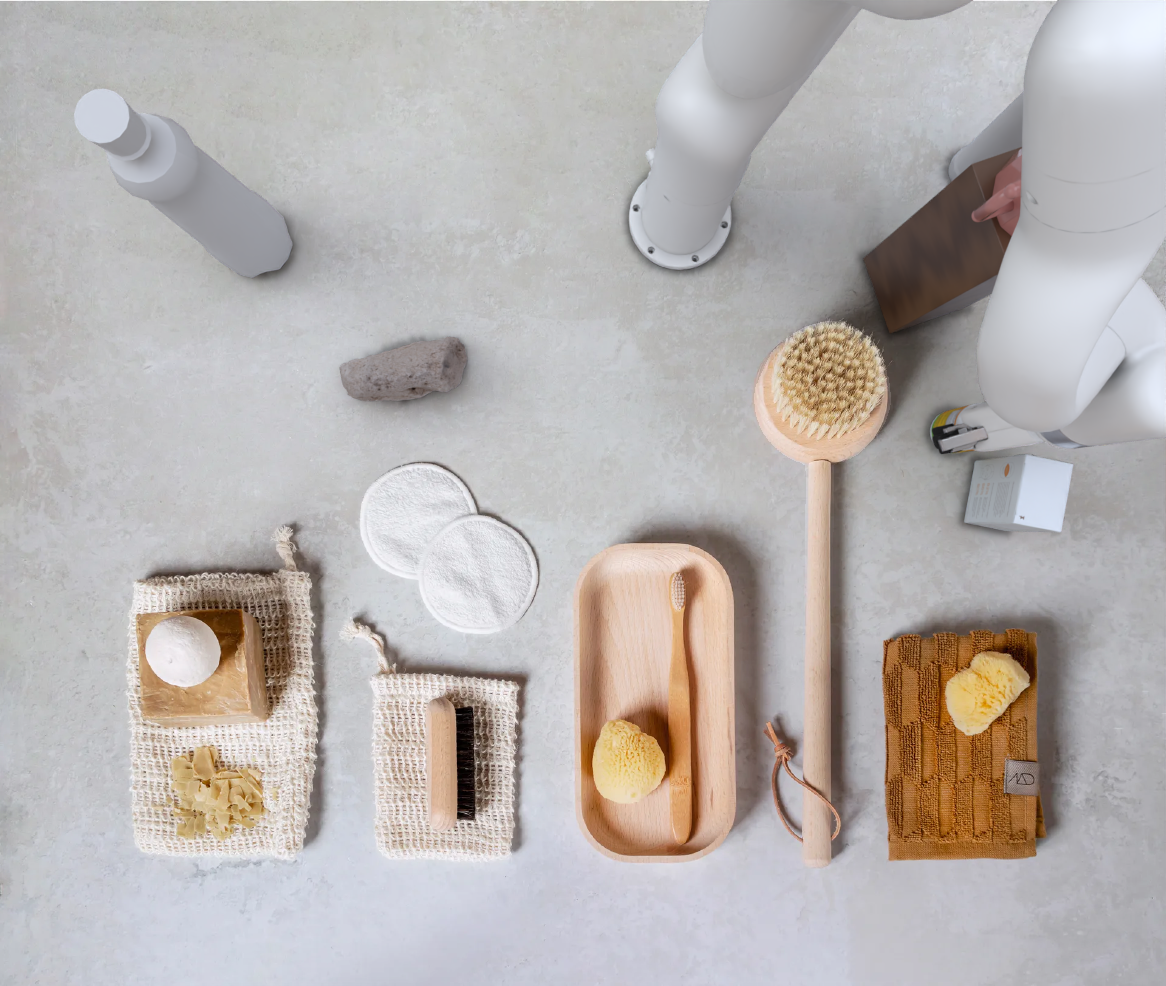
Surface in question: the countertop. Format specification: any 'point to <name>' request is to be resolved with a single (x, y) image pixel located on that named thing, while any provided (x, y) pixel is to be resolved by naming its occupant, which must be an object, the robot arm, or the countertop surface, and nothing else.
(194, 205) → the bottle
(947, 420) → the supplement bottle
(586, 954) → the countertop surface
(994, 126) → the bottle
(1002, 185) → the pink octagonal mug
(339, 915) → the countertop surface
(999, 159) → the stand
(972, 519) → the small box
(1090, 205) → the robot arm
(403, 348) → the pumice stone
